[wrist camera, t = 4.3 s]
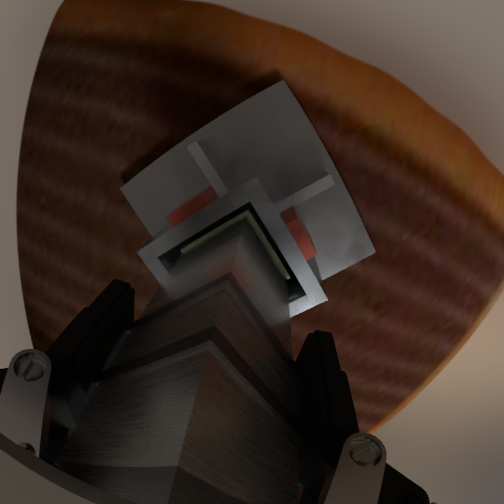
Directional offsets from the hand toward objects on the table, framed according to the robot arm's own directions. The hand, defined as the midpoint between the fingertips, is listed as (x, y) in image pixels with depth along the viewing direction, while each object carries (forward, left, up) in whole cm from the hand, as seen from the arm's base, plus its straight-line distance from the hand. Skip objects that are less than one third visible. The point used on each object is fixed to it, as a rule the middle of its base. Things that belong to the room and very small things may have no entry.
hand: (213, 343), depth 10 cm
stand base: (0, 0, -16) cm, 16 cm away
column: (0, 0, -12) cm, 12 cm away
